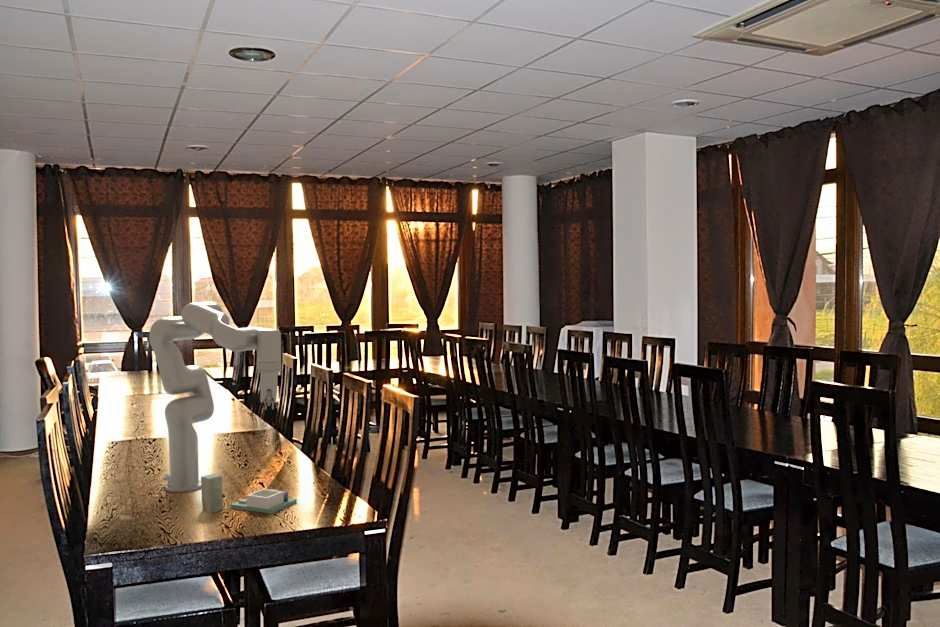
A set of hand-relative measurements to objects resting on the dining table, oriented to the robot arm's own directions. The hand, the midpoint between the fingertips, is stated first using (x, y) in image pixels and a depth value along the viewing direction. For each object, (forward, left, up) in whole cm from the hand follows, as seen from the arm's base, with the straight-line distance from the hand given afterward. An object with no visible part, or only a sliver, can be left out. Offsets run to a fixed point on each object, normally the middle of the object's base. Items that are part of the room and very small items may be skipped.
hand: (269, 418), depth 264 cm
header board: (0, -4, -28) cm, 28 cm away
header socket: (+2, -5, -26) cm, 27 cm away
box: (-12, -14, -28) cm, 33 cm away
